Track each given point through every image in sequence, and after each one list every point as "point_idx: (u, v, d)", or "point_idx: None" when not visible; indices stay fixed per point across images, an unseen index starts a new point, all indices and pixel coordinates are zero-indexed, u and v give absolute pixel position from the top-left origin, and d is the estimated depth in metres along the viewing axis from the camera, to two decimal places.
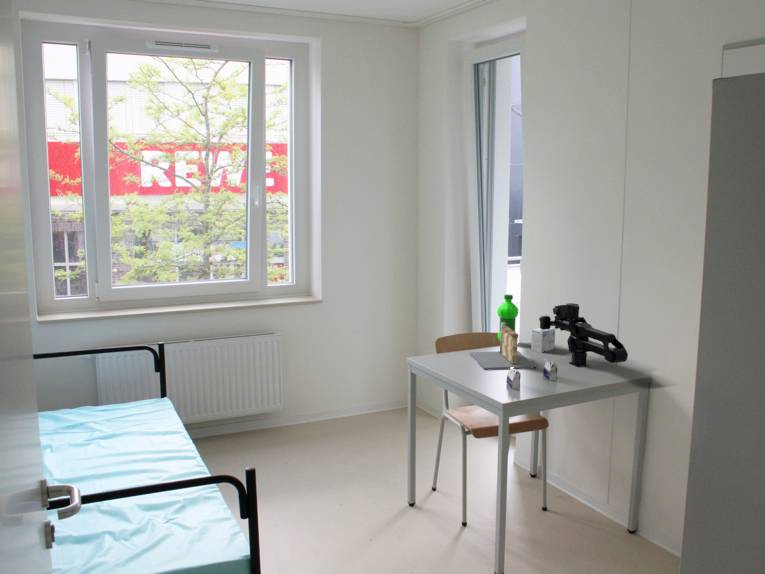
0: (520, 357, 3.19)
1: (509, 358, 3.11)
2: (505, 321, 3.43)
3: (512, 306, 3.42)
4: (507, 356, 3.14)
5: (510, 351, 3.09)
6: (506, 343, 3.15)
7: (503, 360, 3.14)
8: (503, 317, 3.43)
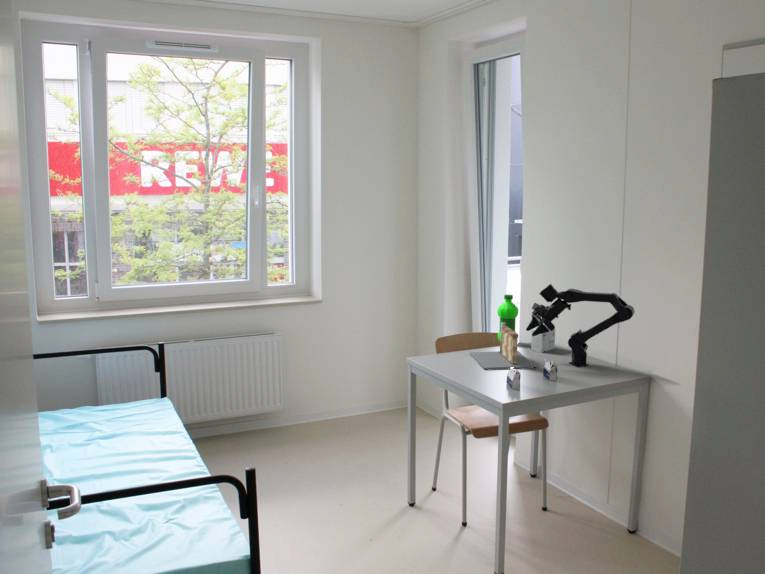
0: (520, 357, 3.19)
1: (509, 358, 3.11)
2: (505, 321, 3.43)
3: (512, 306, 3.42)
4: (507, 356, 3.14)
5: (510, 351, 3.09)
6: (506, 343, 3.15)
7: (503, 360, 3.14)
8: (503, 317, 3.43)
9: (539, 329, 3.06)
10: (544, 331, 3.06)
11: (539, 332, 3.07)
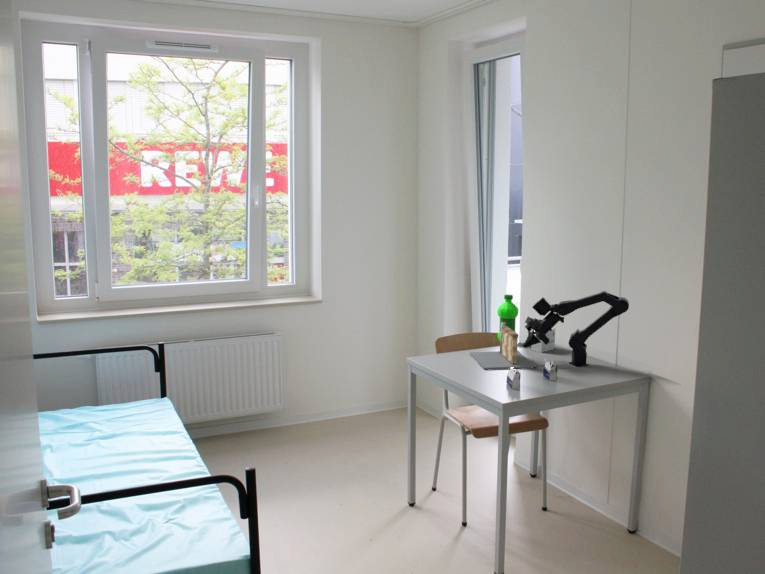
0: (520, 357, 3.19)
1: (509, 358, 3.11)
2: (505, 321, 3.43)
3: (512, 306, 3.42)
4: (507, 356, 3.14)
5: (510, 351, 3.09)
6: (506, 343, 3.15)
7: (503, 360, 3.14)
8: (503, 317, 3.43)
9: (530, 340, 3.11)
10: (535, 342, 3.11)
11: (530, 343, 3.11)
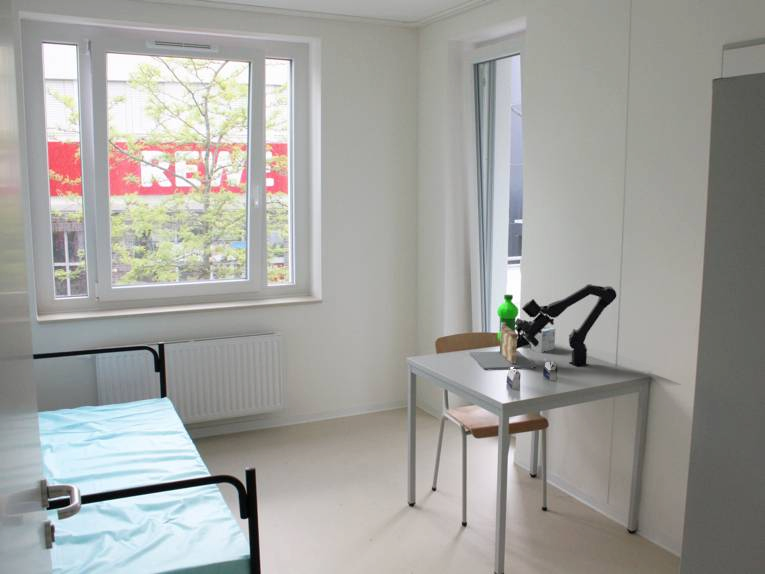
0: (520, 357, 3.19)
1: (509, 358, 3.11)
2: (505, 321, 3.43)
3: (512, 306, 3.42)
4: (507, 356, 3.14)
5: (510, 351, 3.09)
6: (506, 343, 3.15)
7: (503, 360, 3.14)
8: (503, 317, 3.43)
9: (520, 342, 3.10)
10: (525, 344, 3.10)
11: (520, 345, 3.11)
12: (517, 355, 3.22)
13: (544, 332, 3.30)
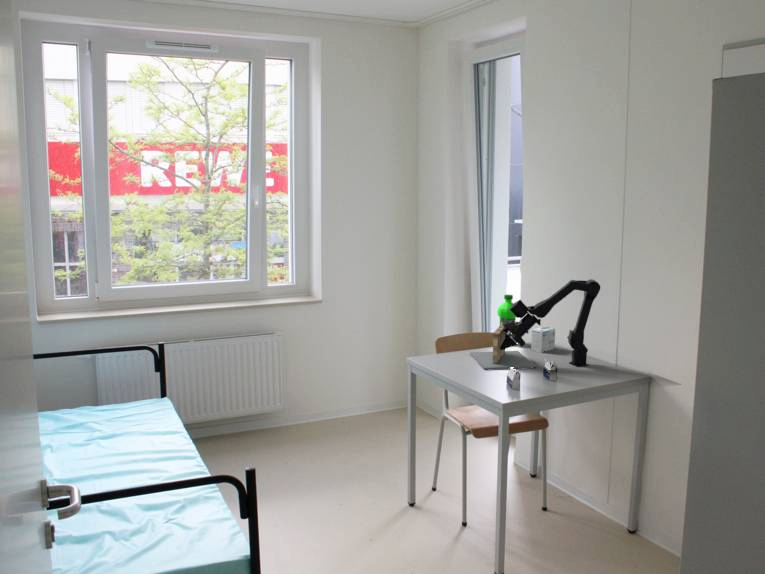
0: (520, 357, 3.19)
1: None
2: None
3: None
4: None
5: None
6: None
7: (503, 360, 3.14)
8: (503, 317, 3.43)
9: (507, 343, 3.10)
10: (512, 345, 3.10)
11: (507, 346, 3.10)
12: (517, 355, 3.22)
13: (544, 332, 3.30)
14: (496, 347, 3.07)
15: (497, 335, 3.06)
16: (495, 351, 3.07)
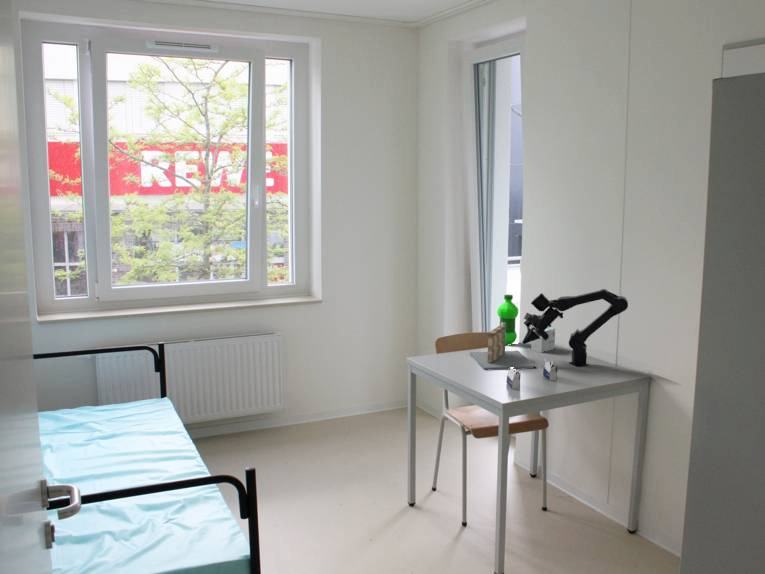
0: (520, 357, 3.19)
1: None
2: (505, 321, 3.43)
3: (512, 306, 3.42)
4: None
5: None
6: None
7: (503, 360, 3.14)
8: (503, 317, 3.43)
9: (530, 336, 3.10)
10: (535, 338, 3.10)
11: (530, 339, 3.11)
12: (517, 355, 3.22)
13: None
14: (491, 346, 3.08)
15: (492, 335, 3.07)
16: (490, 350, 3.08)
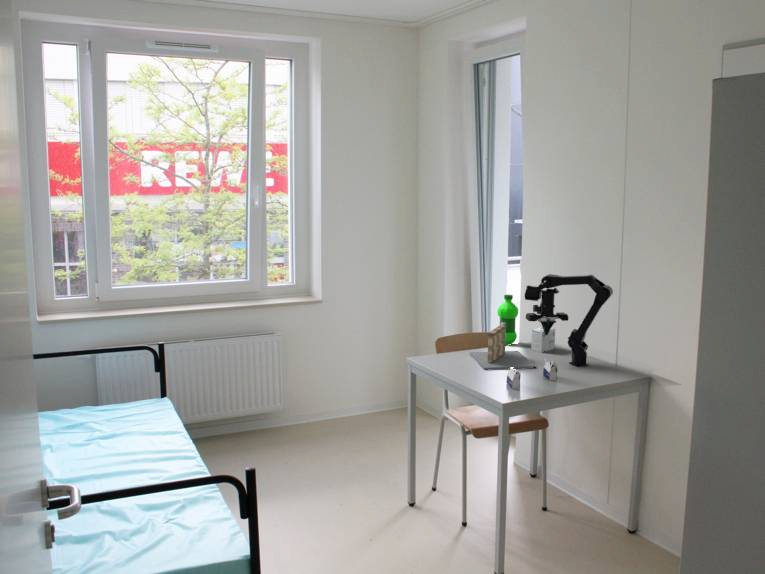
0: (520, 357, 3.19)
1: None
2: (505, 321, 3.43)
3: (512, 306, 3.42)
4: None
5: None
6: None
7: (503, 360, 3.14)
8: (503, 317, 3.43)
9: (543, 326, 3.16)
10: (543, 325, 3.13)
11: (544, 328, 3.15)
12: (517, 355, 3.22)
13: None
14: (491, 346, 3.08)
15: (492, 335, 3.07)
16: (490, 350, 3.08)
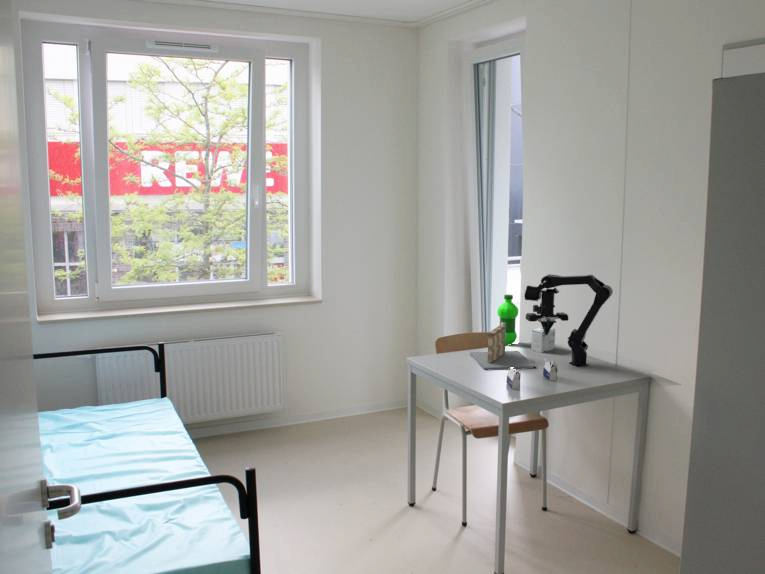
0: (520, 357, 3.19)
1: None
2: (505, 321, 3.43)
3: (512, 306, 3.42)
4: None
5: None
6: None
7: (503, 360, 3.14)
8: (503, 317, 3.43)
9: (543, 326, 3.16)
10: (543, 325, 3.13)
11: (544, 328, 3.15)
12: (517, 355, 3.22)
13: None
14: (491, 346, 3.08)
15: (492, 335, 3.07)
16: (490, 350, 3.08)
